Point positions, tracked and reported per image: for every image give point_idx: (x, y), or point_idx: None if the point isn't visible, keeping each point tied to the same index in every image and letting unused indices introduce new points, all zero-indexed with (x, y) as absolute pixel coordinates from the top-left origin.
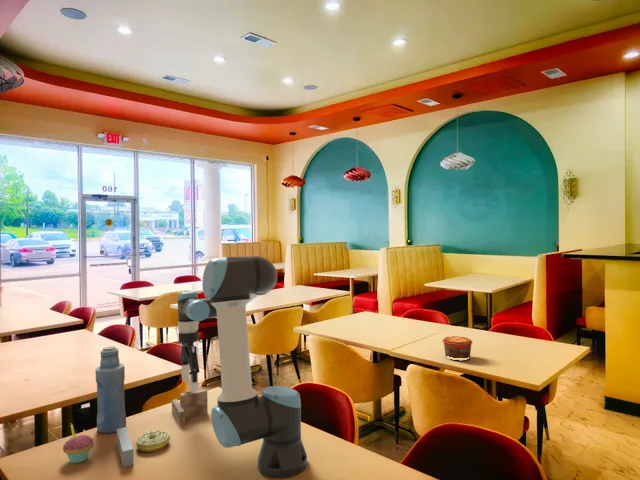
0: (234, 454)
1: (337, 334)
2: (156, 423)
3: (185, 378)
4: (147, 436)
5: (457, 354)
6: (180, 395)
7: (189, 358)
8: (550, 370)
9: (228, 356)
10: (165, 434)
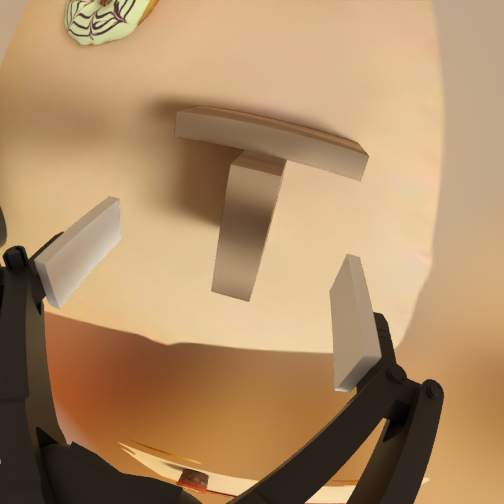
0: (11, 169)
1: None
2: (291, 42)
3: (341, 285)
4: None
5: (185, 475)
6: (259, 169)
7: (2, 386)
8: (131, 454)
9: None
10: (82, 32)
